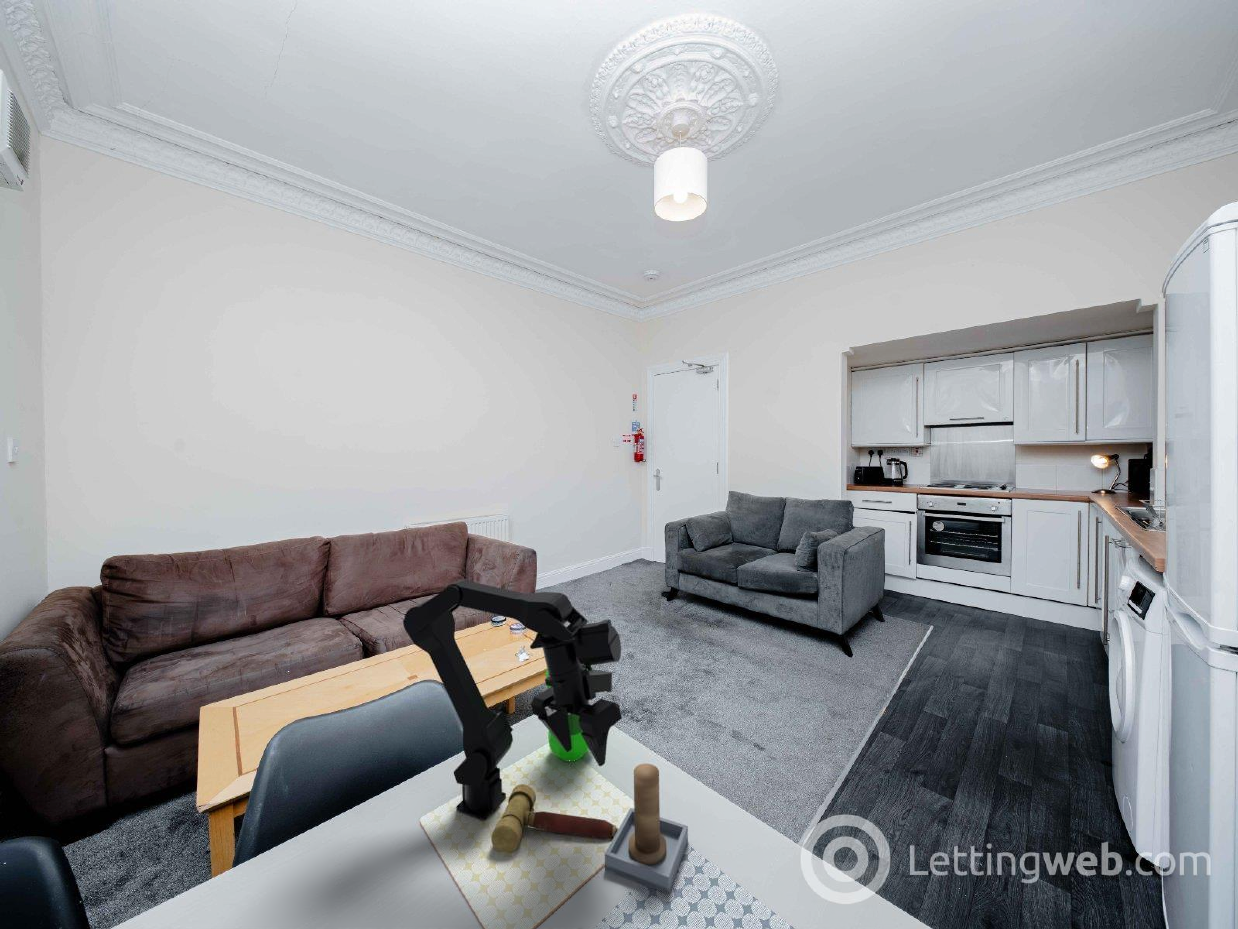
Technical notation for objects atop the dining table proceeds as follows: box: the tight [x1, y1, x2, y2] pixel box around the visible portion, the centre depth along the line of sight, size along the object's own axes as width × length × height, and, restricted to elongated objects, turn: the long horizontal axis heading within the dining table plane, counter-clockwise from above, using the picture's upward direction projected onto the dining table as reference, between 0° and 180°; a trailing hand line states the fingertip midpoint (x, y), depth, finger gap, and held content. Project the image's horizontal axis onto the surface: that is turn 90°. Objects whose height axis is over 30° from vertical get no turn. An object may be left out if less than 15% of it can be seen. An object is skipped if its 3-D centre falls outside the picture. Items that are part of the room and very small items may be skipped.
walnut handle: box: [629, 763, 666, 866], centre depth 74 cm, size 6×6×12 cm
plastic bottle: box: [545, 665, 593, 762], centre depth 100 cm, size 10×10×25 cm
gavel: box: [490, 783, 619, 854], centre depth 79 cm, size 21×5×10 cm
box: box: [604, 807, 689, 895], centre depth 74 cm, size 10×10×2 cm
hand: (585, 757), depth 81 cm, fingers open, 9 cm apart
